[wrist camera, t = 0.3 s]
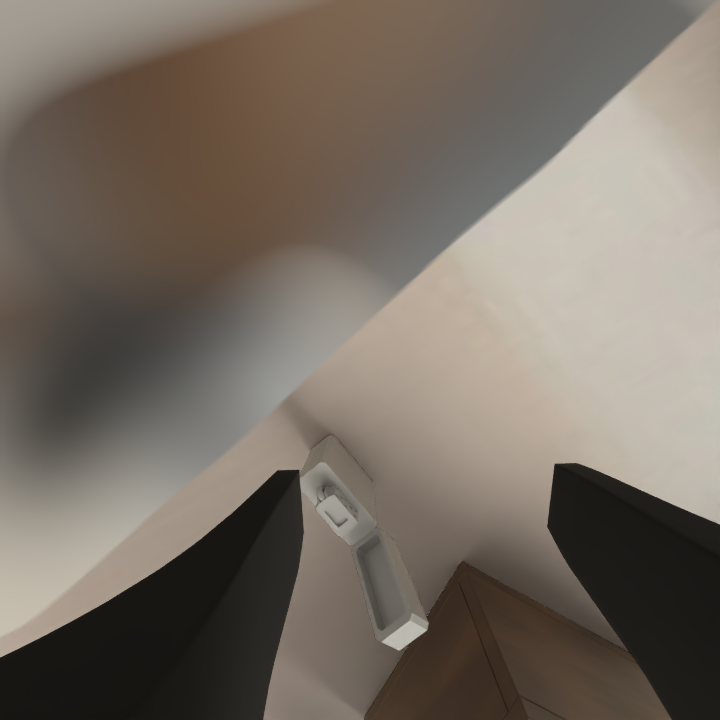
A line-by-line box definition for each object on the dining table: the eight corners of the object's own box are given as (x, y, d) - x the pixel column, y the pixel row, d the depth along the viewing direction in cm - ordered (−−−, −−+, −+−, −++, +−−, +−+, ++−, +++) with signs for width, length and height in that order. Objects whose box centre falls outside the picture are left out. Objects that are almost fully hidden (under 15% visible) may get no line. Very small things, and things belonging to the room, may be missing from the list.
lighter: (309, 450, 21) (274, 526, 13) (331, 432, 21) (311, 498, 13) (384, 539, 21) (397, 667, 13) (407, 522, 21) (433, 640, 13)
